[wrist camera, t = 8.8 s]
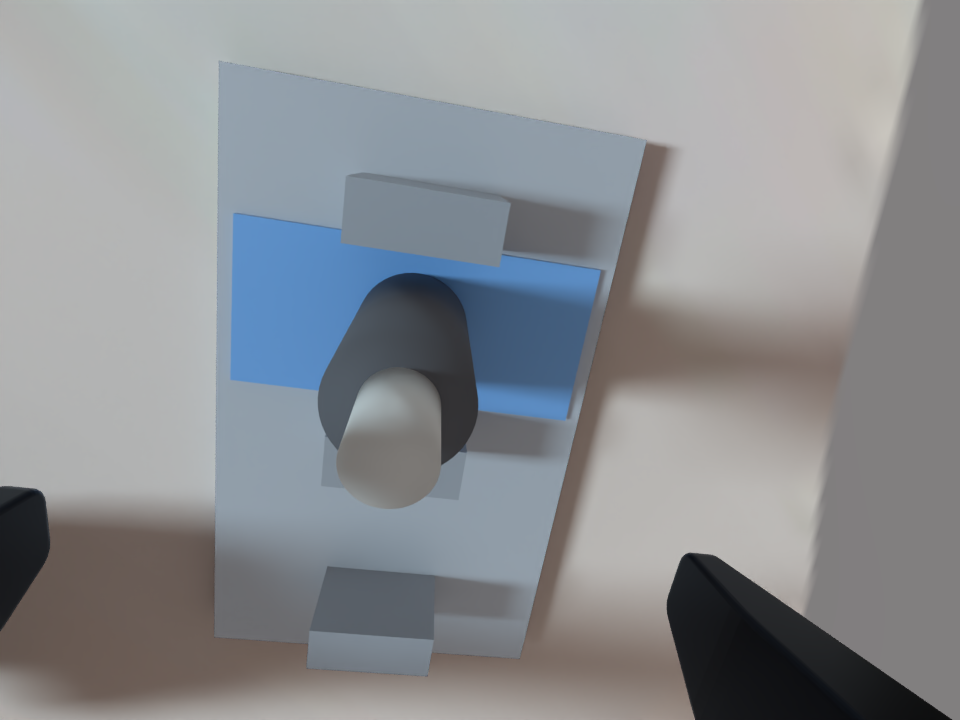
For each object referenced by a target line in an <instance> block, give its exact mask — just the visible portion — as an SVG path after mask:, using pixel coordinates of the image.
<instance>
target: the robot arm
mask: <svg viewBox="0 0 960 720" xmlns="http://www.w3.org/2000/svg"><path fill="white" fill-rule="evenodd" d="M49 549H50V536H49V527H48V518H47V509H46V501H45V497H44V495H43V493H42V492H41V491H39V490H37V489H33V488H23V487H13V486H2V487H0V631H1V630H2V628H3V627H4V625H5V624H6V622H7V621H8V619H9V617H10V616H11V614H12V613H13V611H14V610H15V608H16V607H17V605H18V604H19V602H20V600H21V599H22V597H23V596H24V594H25V593H26V591H27V590H28V588H29V587H30V585H31V584H32V582H33V580H34V579H35V577H36V576H37V574H38V573H39V571H40V570H41V568H42V567H43V565H44V563H45V561H46V559H47V557H48V553H49ZM667 615H668V619H669V623H670V627H671V631H672V635H673V638H674V642H675V646H676V650H677V654H678V657H679V661H680V665H681V669H682V673H683V676H684V680H685V684H686V688H687V692H688V695H689V699H690V703H691V707H692V710H693V714H694V717H695V720H952V719H950V718H949V717H948V716H946V715H945V714H943V713H942V712H940V711H938V710H937V709H936V708H935V707H933V706H932V705H930V704H929V703H927V702H926V701H924V700H923V699H921V698H920V697H919V696H917V695H916V694H914V693H913V692H911V691H910V690H909V689H907V688H905V687H904V686H903V685H901V684H900V683H898V682H897V681H895V680H894V679H893V678H891V677H890V676H888V675H887V674H885V673H884V672H882V671H881V670H880V669H878V668H877V667H875V666H874V665H872V664H871V663H870V662H868V661H867V660H865V659H863V658H862V657H861V656H859V655H858V654H857V653H855V652H853V651H852V650H851V649H849V648H848V647H846V646H845V645H843V644H842V643H841V642H839V641H838V640H836V639H835V638H833V637H832V636H831V635H829V634H828V633H826V632H825V631H823V630H822V629H820V628H819V627H818V626H816V625H815V624H813V623H812V622H810V621H809V620H807V619H806V618H805V617H803V616H802V615H800V614H799V613H797V612H796V611H794V610H793V609H792V608H790V607H789V606H787V605H786V604H784V603H783V602H781V601H780V600H779V599H777V598H776V597H774V596H773V595H771V594H770V593H768V592H767V591H766V590H764V589H763V588H761V587H760V586H758V585H757V584H755V583H754V582H753V581H751V580H750V579H748V578H747V577H745V576H744V575H742V574H741V573H740V572H738V571H737V570H735V569H734V568H732V567H731V566H729V565H728V564H727V563H725V562H724V561H722V560H721V559H719V558H718V557H716V556H714V555H709V554H699V553H687V554H685V555H684V556H683V557H682V558H681V561H680V563H679V566H678V569H677V572H676V574H675V577H674V580H673V583H672V586H671V589H670V592H669V595H668V599H667Z"/></svg>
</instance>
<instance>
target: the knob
mask: <svg viewBox="0 0 960 720" xmlns="http://www.w3.org/2000/svg"><path fill="white" fill-rule="evenodd" d="M318 412H319V417H320V421H321V424H322V427H323V429H324V431H325V433H326V435H327V437H328V438H329V440H330V442H331V443H332V444H333V445H334V447H335V448H336V449H337V450H338V452H337V457H336V468H337V473H338V477H339V479H340V481H341V483H342V485H343V486H344V488H345V489H346V490H347V491H348V492H349V493H350V494H351V495H352V496H353V497H354V498H356V499H357V500H359V501H360V502H362V503H364V504H367V505H369V506H372V507H376V508H381V509H398V508H403V507H407V506H410V505H412V504H414V503H416V502H418V501H420V500H421V499H423V498H424V497H425V496H427V495H428V494H429V493H430V492H431V490H432V489H433V488H434V486H435V484H436V483H437V481H438V478H439V475H440V471H441V465H443V464H444V463H446V462H448V461H449V460H450V459H451V458H453V457H454V456H455V455H456V454H457V453H458V452H459V451H460V450H461V449H462V448H463V447H464V445H465V444H466V443H467V441H468V439H469V438H470V436H471V434H472V432H473V429H474V427H475V424H476V420H477V416H478V394H477V387H476V380H475V374H474V367H473V360H472V354H471V347H470V340H469V334H468V327H467V320H466V315H465V311H464V308H463V306H462V304H461V302H460V300H459V298H458V297H457V295H456V294H455V293H454V292H453V291H452V290H451V289H450V288H449V287H448V286H447V285H446V284H444V283H443V282H441V281H440V280H438V279H436V278H434V277H431V276H428V275H425V274H420V273H403V274H397V275H394V276H391V277H389V278H387V279H385V280H383V281H381V282H380V283H378V284H377V285H376V286H375V287H374V288H372V290H371V291H370V292H369V293H368V294H367V296H366V297H365V299H364V301H363V302H362V304H361V306H360V308H359V310H358V312H357V313H356V315H355V317H354V319H353V321H352V323H351V324H350V326H349V328H348V330H347V332H346V334H345V335H344V337H343V339H342V341H341V343H340V345H339V347H338V348H337V350H336V352H335V354H334V356H333V358H332V359H331V361H330V363H329V365H328V367H327V369H326V371H325V373H324V375H323V377H322V380H321V383H320V386H319V392H318Z"/></svg>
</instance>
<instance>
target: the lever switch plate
mask: <svg viewBox="0 0 960 720" xmlns="http://www.w3.org/2000/svg"><path fill="white" fill-rule="evenodd" d="M646 141H647V140H643V139H638V138H633V137H627V136H622V135H616V134H611V133H606V132H600V131H595V130H589V129H584V128H579V127H573V126H568V125H562V124H557V123H552V122H546V121H541V120H535V119H530V118H525V117H519V116H514V115H508V114H503V113H498V112H492V111H487V110H481V109H476V108H471V107H465V106H460V105H454V104H449V103H444V102H438V101H433V100H427V99H422V98H417V97H411V96H406V95H400V94H395V93H390V92H384V91H379V90H373V89H368V88H363V87H357V86H352V85H346V84H341V83H336V82H330V81H325V80H319V79H314V78H309V77H303V76H298V75H292V74H287V73H282V72H276V71H271V70H265V69H260V68H255V67H249V66H244V65H238V64H233V63H228V62H222V61H219V110H218V233H217V356H216V478H215V601H214V637H217V638H231V639H245V640H259V641H273V642H287V643H301V644H308V654H307V667H306V668H307V669H322V670H338V671H353V672H368V673H383V674H398V675H414V676H428V670H429V665H430V659H431V653H443V654H457V655H471V656H485V657H499V658H513V659H520V655H521V651H522V647H523V643H524V639H525V635H526V631H527V627H528V623H529V619H530V615H531V610H532V606H533V602H534V598H535V594H536V590H537V586H538V582H539V578H540V574H541V570H542V566H543V561H544V557H545V553H546V549H547V545H548V541H549V537H550V533H551V529H552V525H553V521H554V517H555V513H556V508H557V504H558V500H559V496H560V492H561V488H562V484H563V480H564V476H565V472H566V468H567V464H568V460H569V455H570V451H571V447H572V443H573V439H574V435H575V431H576V427H577V423H578V419H579V415H580V411H581V406H582V402H583V398H584V394H585V390H586V386H587V382H588V378H589V374H590V370H591V366H592V362H593V358H594V353H595V349H596V345H597V341H598V337H599V333H600V329H601V325H602V321H603V317H604V313H605V309H606V304H607V300H608V296H609V292H610V288H611V284H612V280H613V276H614V272H615V268H616V264H617V260H618V256H619V251H620V247H621V243H622V239H623V235H624V231H625V227H626V223H627V219H628V215H629V211H630V207H631V203H632V198H633V194H634V190H635V186H636V182H637V178H638V174H639V170H640V166H641V162H642V158H643V154H644V149H645V145H646ZM403 273H420V274H425V275H428V276H431V277H434V278H436V279H438V280H440V281H441V282H443V283H444V284H446V285H447V286H448V287H449V288H450V289H451V290H452V291H453V292H454V293H455V294H456V295H457V297H458V298H459V300H460V302H461V304H462V306H463V308H464V311H465V315H466V320H467V327H468V334H469V340H470V347H471V354H472V360H473V367H474V374H475V380H476V387H477V394H478V416H477V420H476V424H475V427H474V429H473V432H472V434H471V436H470V438H469V439H468V441H467V443H466V444H465V445H464V447H463V448H462V449H461V450H460V451H459V452H458V453H457V454H456V455H455V456H454V457H453V458H451V459H450V460H449V461H448V462H446V463H444V464H443V465H441V471H440V475H439V478H438V481H437V483H436V484H435V486H434V488H433V489H432V490H431V492H430V493H429V494H428V495H427V496H425V497H424V498H423V499H421V500H420V501H418V502H416V503H414V504H412V505H410V506H407V507H403V508H398V509H381V508H376V507H372V506H369V505H367V504H364V503H362V502H360V501H359V500H357V499H356V498H354V497H353V496H352V495H351V494H350V493H349V492H348V491H347V490H346V489H345V488H344V486H343V485H342V483H341V481H340V479H339V477H338V473H337V468H336V457H337V452H338V450H337V449H336V448H335V447H334V445H333V444H332V443H331V442H330V440H329V438H328V437H327V435H326V433H325V431H324V429H323V427H322V424H321V421H320V417H319V412H318V392H319V386H320V383H321V380H322V377H323V375H324V373H325V371H326V369H327V367H328V365H329V363H330V361H331V359H332V358H333V356H334V354H335V352H336V350H337V348H338V347H339V345H340V343H341V341H342V339H343V337H344V335H345V334H346V332H347V330H348V328H349V326H350V324H351V323H352V321H353V319H354V317H355V315H356V313H357V312H358V310H359V308H360V306H361V304H362V302H363V301H364V299H365V297H366V296H367V294H368V293H369V292H370V291H371V290H372V288H374V287H375V286H376V285H377V284H378V283H380V282H381V281H383V280H385V279H387V278H389V277H391V276H394V275H397V274H403Z"/></svg>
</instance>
